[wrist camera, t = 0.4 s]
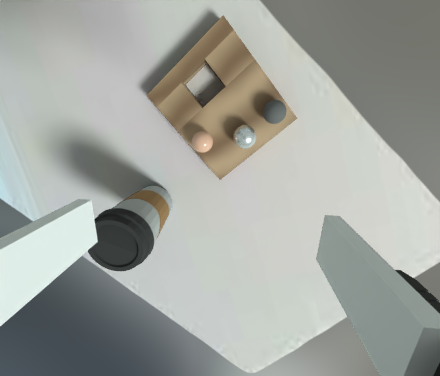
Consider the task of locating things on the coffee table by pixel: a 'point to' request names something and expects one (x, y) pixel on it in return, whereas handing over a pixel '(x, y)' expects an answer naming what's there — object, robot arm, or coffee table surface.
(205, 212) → the coffee table surface
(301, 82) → the coffee table surface
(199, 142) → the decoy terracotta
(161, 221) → the coffee cup
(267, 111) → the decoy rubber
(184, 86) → the wooden flat board
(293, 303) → the coffee table surface
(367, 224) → the coffee table surface
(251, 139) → the steel ball
